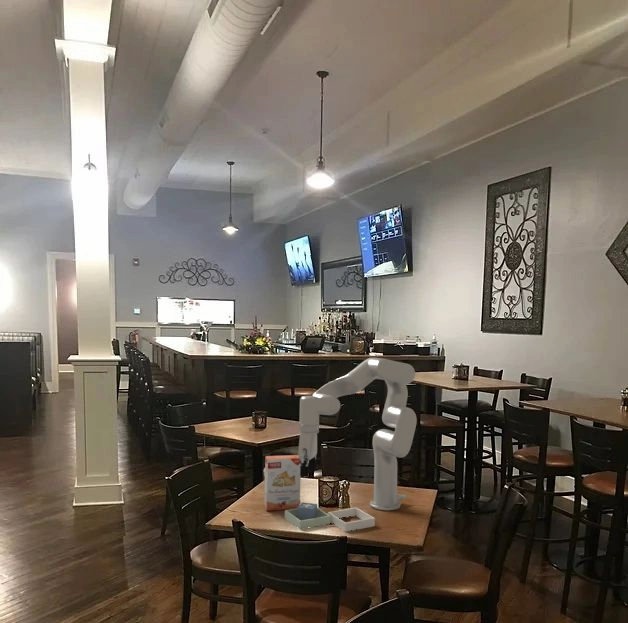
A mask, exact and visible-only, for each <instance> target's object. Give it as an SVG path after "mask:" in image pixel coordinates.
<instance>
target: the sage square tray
mask: <svg viewBox="0 0 628 623" xmlns="http://www.w3.org/2000/svg"><path fill="white" fill-rule="evenodd" d="M296 516H298V508H296V509H285V510H284V519H285V518H286V519H285V520H287V521H288V522H289V521H290V522H289V523H290V524H292V525H293V524H294V525H295V527H296V528H297V527H298V528H299V529H298V528H297V529H298V530H300V529H301V530H304V529H303V528H306V529H309V528H308V527H311V528H316V527H315V526H317V527H321V525H322V526H327V525H326V524H328V525H331V524H332V523H331V516H330V515H328V512H327V513H326V511H324V510H322V509H320V508H319V507H317V518H313V519H307V520H302V521H301V520H299V519H298V517H296ZM330 523H331V524H330ZM294 525H293V526H294Z"/></svg>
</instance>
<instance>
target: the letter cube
mask: <svg viewBox="0 0 628 623" xmlns="http://www.w3.org/2000/svg"><path fill="white" fill-rule="evenodd" d="M317 508H318V503H311V502H304V501H302V502H300V505H299V506H298V517H297V518H298V519H299V520H301V521H302V520H307V519H313V518H318V516H317Z"/></svg>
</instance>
